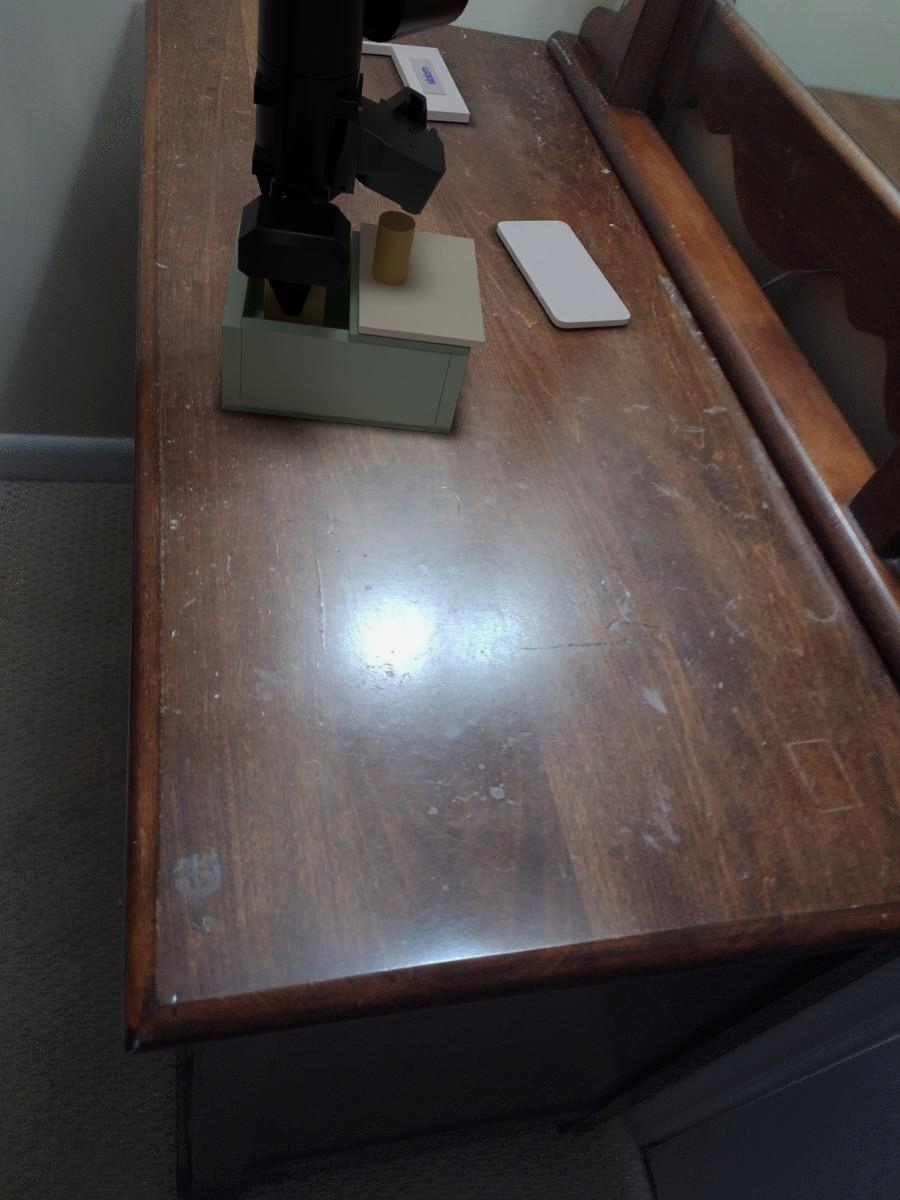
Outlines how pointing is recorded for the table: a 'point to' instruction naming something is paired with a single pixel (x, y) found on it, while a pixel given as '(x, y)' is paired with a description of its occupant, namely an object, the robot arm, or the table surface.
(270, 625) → the table surface
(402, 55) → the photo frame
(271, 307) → the maple block
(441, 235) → the slide door
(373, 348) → the storage box
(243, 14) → the table surface
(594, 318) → the smartphone
